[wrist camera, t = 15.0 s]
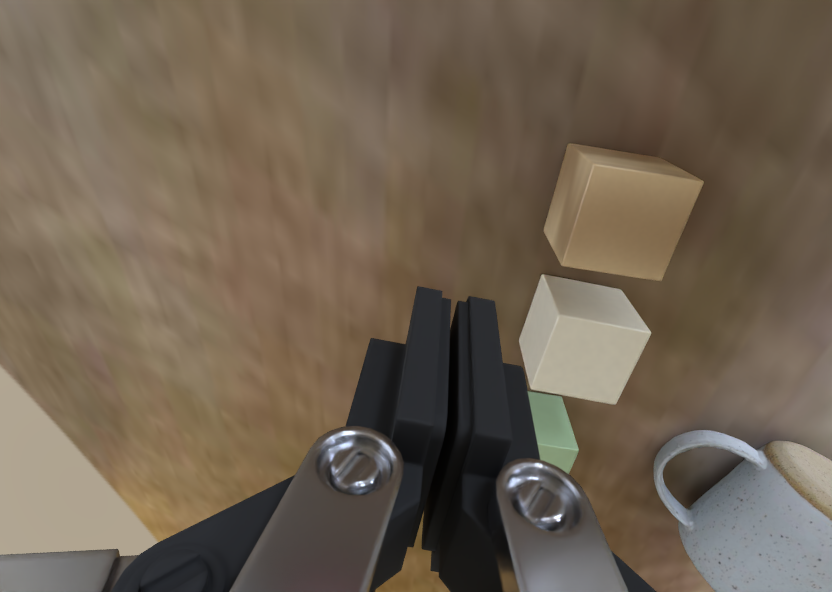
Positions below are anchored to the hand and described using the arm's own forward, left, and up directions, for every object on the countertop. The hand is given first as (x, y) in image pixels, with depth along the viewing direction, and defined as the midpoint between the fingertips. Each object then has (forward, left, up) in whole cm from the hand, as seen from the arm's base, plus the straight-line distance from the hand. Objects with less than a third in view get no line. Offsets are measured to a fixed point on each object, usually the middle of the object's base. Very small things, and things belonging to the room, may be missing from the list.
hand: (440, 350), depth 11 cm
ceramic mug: (+14, +21, -14) cm, 29 cm away
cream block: (+5, +8, -14) cm, 17 cm away
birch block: (-1, +7, -14) cm, 15 cm away
